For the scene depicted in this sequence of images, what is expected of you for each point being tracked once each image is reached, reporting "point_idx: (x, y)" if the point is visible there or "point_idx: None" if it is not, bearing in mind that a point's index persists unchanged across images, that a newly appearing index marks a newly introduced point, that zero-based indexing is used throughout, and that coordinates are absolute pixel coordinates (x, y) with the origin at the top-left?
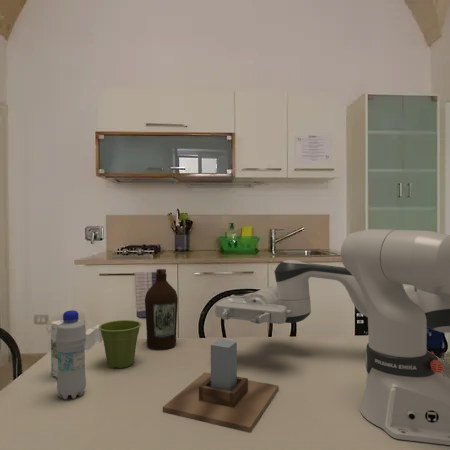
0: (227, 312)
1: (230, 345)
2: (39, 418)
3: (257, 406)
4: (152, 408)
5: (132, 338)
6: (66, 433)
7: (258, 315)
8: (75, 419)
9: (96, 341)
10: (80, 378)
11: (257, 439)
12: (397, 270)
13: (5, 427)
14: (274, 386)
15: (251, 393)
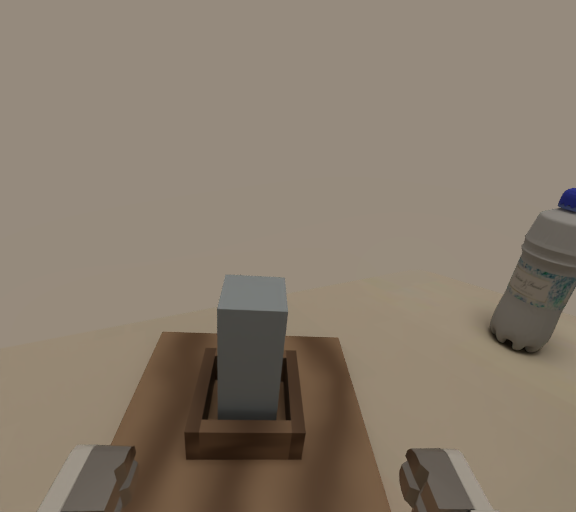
0: (437, 479)
1: (226, 284)
2: (456, 295)
3: (150, 392)
4: (360, 347)
5: None
6: (394, 287)
7: (95, 487)
8: (420, 303)
9: None
10: (503, 308)
11: (149, 329)
12: None
13: (458, 280)
14: None
15: (172, 449)
